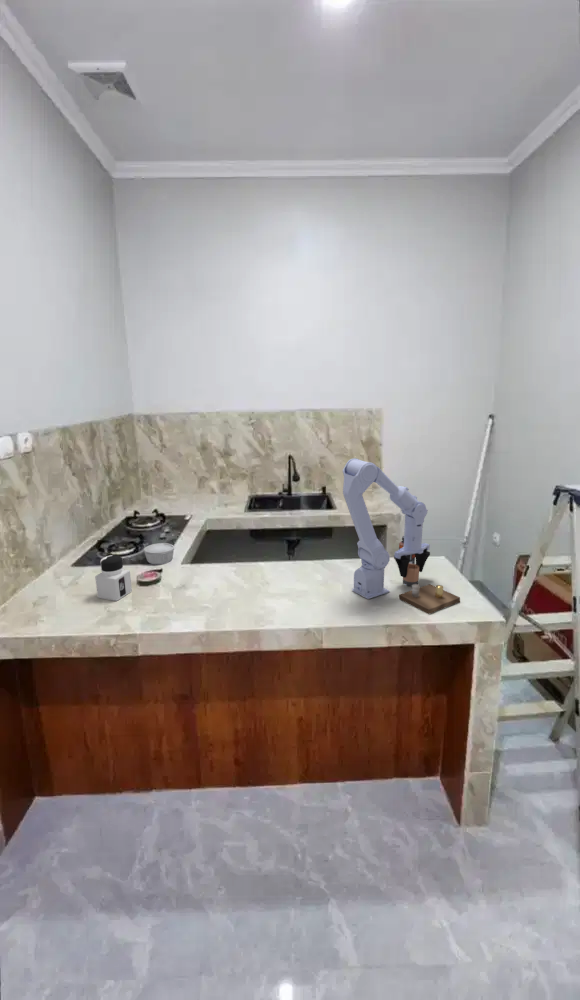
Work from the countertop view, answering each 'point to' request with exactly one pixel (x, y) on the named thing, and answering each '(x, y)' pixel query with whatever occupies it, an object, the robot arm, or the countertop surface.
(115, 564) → the container
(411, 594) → the pin board
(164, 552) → the ramekin
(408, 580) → the sleeve
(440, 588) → the brass pin
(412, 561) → the supplement bottle
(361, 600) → the countertop surface
